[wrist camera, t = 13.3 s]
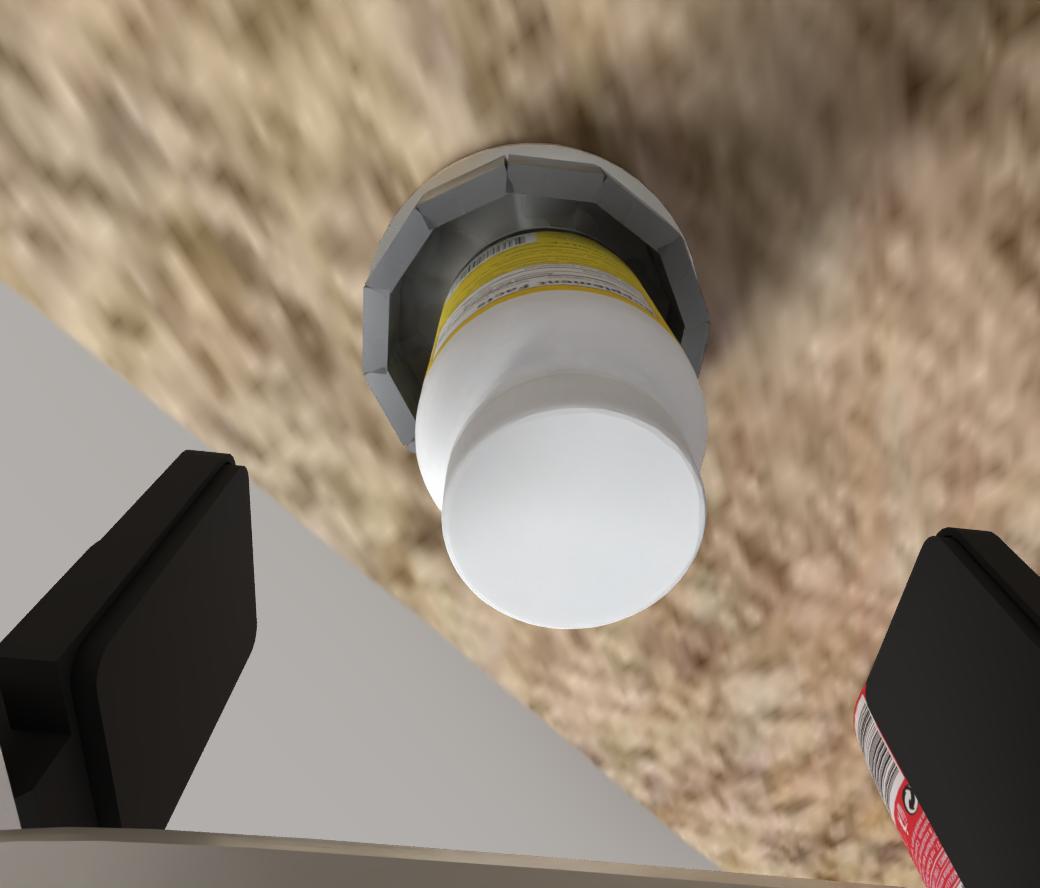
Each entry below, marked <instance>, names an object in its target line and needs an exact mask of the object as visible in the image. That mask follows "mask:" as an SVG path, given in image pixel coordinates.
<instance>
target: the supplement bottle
mask: <svg viewBox="0 0 1040 888" xmlns="http://www.w3.org/2000/svg"><path fill="white" fill-rule="evenodd" d="M706 442H707V413H706V406H705V400H704V396H703V393H702V389H701V386H700V383H699V381H698V378H697V376H696V373H695V371H694V369H693V367H692V365H691V363H690V361H689V359H688V358H687V356H686V354H685V352H684V350H683V348H682V347H681V345H680V344H679V342H678V341H677V339H676V338H675V336H674V335H673V333H672V332H671V330H670V329H669V327H668V325H667V324H666V322H665V321H664V319H663V318H662V316H661V314H660V313H659V311H658V310H657V308H656V306H655V305H654V303H653V302H652V300H651V299H650V297H649V296H648V294H647V292H646V291H645V289H644V288H643V286H642V284H641V283H640V281H639V280H638V278H637V277H636V275H635V274H634V273H633V271H632V270H631V269H630V268H629V266H628V265H627V264H626V263H625V261H624V260H623V259H622V258H621V257H620V256H619V255H618V254H617V253H616V252H614V251H613V250H612V249H611V248H609V247H608V246H607V245H605V244H604V243H602V242H600V241H599V240H597V239H595V238H593V237H591V236H589V235H587V234H585V233H582V232H579V231H576V230H572V229H567V228H561V227H552V226H536V227H529V228H524V229H520V230H516V231H513V232H510V233H507V234H505V235H503V236H500V237H498V238H496V239H494V240H493V241H491V242H489V243H488V244H486V245H485V246H484V247H482V248H481V249H480V250H478V251H477V252H476V253H475V254H474V255H473V256H472V257H471V258H470V259H469V260H468V261H467V262H466V263H465V264H464V266H463V267H462V268H461V270H460V271H459V273H458V274H457V276H456V277H455V279H454V281H453V283H452V285H451V287H450V289H449V291H448V294H447V296H446V299H445V303H444V306H443V310H442V314H441V318H440V322H439V326H438V330H437V334H436V338H435V342H434V346H433V350H432V354H431V358H430V362H429V365H428V369H427V372H426V375H425V379H424V383H423V387H422V391H421V395H420V400H419V404H418V409H417V415H416V425H415V443H416V454H417V459H418V464H419V468H420V471H421V474H422V477H423V479H424V482H425V485H426V487H427V489H428V491H429V493H430V495H431V497H432V498H433V500H434V502H435V503H436V505H437V506H438V507H439V509H440V510H441V512H442V530H443V537H444V541H445V544H446V548H447V551H448V554H449V556H450V559H451V561H452V563H453V565H454V567H455V569H456V571H457V572H458V574H459V575H460V577H461V578H462V579H463V581H464V582H465V583H466V584H467V585H468V587H469V588H470V589H471V590H472V591H473V592H474V593H475V594H476V595H477V596H478V597H479V598H480V599H481V600H483V601H484V602H486V603H487V604H488V605H490V606H491V607H493V608H494V609H496V610H498V611H500V612H502V613H503V614H505V615H507V616H510V617H512V618H515V619H517V620H519V621H522V622H526V623H529V624H532V625H536V626H541V627H548V628H557V629H580V628H591V627H597V626H602V625H606V624H610V623H613V622H617V621H619V620H622V619H624V618H627V617H629V616H632V615H634V614H636V613H638V612H640V611H642V610H644V609H646V608H647V607H649V606H650V605H652V604H654V603H655V602H656V601H658V600H659V599H660V598H662V597H663V596H664V595H665V594H667V593H668V592H669V591H670V590H671V589H672V588H673V587H674V586H675V585H676V584H677V583H678V582H679V580H680V579H681V578H682V577H683V575H684V574H685V573H686V571H687V570H688V569H689V567H690V565H691V564H692V562H693V560H694V558H695V557H696V555H697V552H698V549H699V547H700V544H701V542H702V538H703V535H704V531H705V525H706V517H707V509H706V497H705V490H704V486H703V481H702V479H701V476H700V473H699V471H700V468H701V465H702V462H703V458H704V454H705V448H706Z"/></svg>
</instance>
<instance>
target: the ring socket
mask: <svg viewBox="0 0 1040 888" xmlns="http://www.w3.org/2000/svg"><path fill="white" fill-rule="evenodd" d="M536 226H552V227H561V228H567V229H572V230H576V231H579V232H582V233H585V234H587V235H589V236H591V237H593V238H595V239H597V240H599V241H600V242H602V243H604V244H605V245H607V246H608V247H609V248H611V249H612V250H613V251H614V252H616V253H617V254H618V255H619V256H620V257H621V258H622V259H623V260H624V261H625V263H626V264H627V265H628V266H629V268H630V269H631V270H632V271H633V273H634V274H635V275H636V277H637V278H638V280H639V281H640V283H641V284H642V286H643V288H644V289H645V291H646V292H647V294H648V296H649V297H650V299H651V300H652V302H653V303H654V305H655V306H656V308H657V310H658V311H659V313H660V314H661V316H662V318H663V319H664V321H665V322H666V324H667V325H668V327H669V329H670V330H671V332H672V333H673V335H674V336H675V338H676V339H677V341H678V342H679V344H680V345H681V347H682V348H683V350H684V352H685V354H686V356H687V358H688V359H689V361H690V363H691V365H692V367H693V369H694V371H695V373H696V376H697V378H698V377H699V373H700V369H701V364H702V360H703V356H704V351H705V347H706V343H707V338H708V334H709V330H710V325H711V324H710V322H709V321H710V317H709V314H708V311H707V308H706V305H705V302H704V299H703V296H702V293H701V290H700V287H699V284H698V281H697V275H696V271H695V267H694V264H693V260H692V256H691V253H690V251H689V248H688V246H687V244H686V241H685V239H684V236H683V234H682V233H681V231H680V229H679V227H678V226H677V224H676V222H675V221H674V219H673V217H672V216H671V214H670V213H669V212H668V211H667V209H666V208H665V207H664V206H663V204H662V203H661V202H660V201H659V199H658V198H657V197H656V196H655V195H654V194H653V193H652V192H650V191H649V190H648V189H647V188H646V187H645V186H644V185H643V184H642V183H641V182H640V181H639V180H638V179H637V178H635V177H634V176H632V175H631V174H629V173H628V172H627V171H625V170H624V169H622V168H621V167H619V166H618V165H616V164H614V163H612V162H610V161H608V160H606V159H604V158H602V157H600V156H598V155H596V154H593V153H590V152H587V151H584V150H581V149H578V148H574V147H569V146H564V145H559V144H553V143H533V142H528V143H517V144H506V145H502V146H498V147H494V148H489V149H485V150H482V151H479V152H477V153H474V154H472V155H469V156H467V157H464V158H462V159H460V160H458V161H456V162H454V163H453V164H451V165H449V166H447V167H446V168H444V169H442V170H441V171H439V172H438V173H437V174H435V175H434V176H433V177H431V178H430V179H429V180H428V181H426V182H425V183H424V184H423V185H422V186H421V187H420V188H419V189H418V190H417V191H416V192H415V193H414V194H413V195H412V196H411V197H410V198H409V199H408V200H407V201H406V202H405V203H404V205H403V206H402V208H401V209H400V210H399V212H398V213H397V214H396V216H395V217H394V218H393V220H392V221H391V222H390V224H389V226H388V228H387V230H386V232H385V233H384V235H383V237H382V239H381V241H380V243H379V245H378V248H377V251H376V253H375V256H374V259H373V261H372V265H371V269H370V274H369V278H368V280H367V281H366V283H365V284H366V285H365V286H364V297H363V360H362V372H365V373H364V375H363V376H364V378H365V379H366V381H367V383H368V385H369V386H370V388H371V390H372V392H373V393H374V395H375V397H376V399H377V400H378V402H379V404H380V406H381V407H382V409H383V411H384V413H385V414H386V416H387V418H388V420H389V421H390V423H391V425H392V427H393V428H394V430H395V432H396V434H397V435H398V437H399V439H400V441H401V442H402V444H403V445H406V444H407V446H406V448H407V449H408V450H410V451H411V452H413V453H415V454H416V443H415V425H416V415H417V409H418V404H419V400H420V395H421V391H422V387H423V383H424V379H425V375H426V372H427V369H428V365H429V362H430V358H431V354H432V350H433V346H434V342H435V338H436V334H437V330H438V326H439V322H440V318H441V314H442V310H443V306H444V303H445V299H446V296H447V294H448V291H449V289H450V287H451V285H452V283H453V281H454V279H455V277H456V276H457V274H458V273H459V271H460V270H461V268H462V267H463V266H464V264H465V263H466V262H467V261H468V260H469V259H470V258H471V257H472V256H473V255H474V254H475V253H476V252H477V251H478V250H480V249H481V248H482V247H484V246H485V245H486V244H488V243H489V242H491V241H493V240H494V239H496V238H498V237H500V236H503V235H505V234H507V233H510V232H513V231H516V230H520V229H524V228H529V227H536ZM416 455H417V454H416Z"/></svg>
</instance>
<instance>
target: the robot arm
mask: <svg viewBox="0 0 1040 888" xmlns="http://www.w3.org/2000/svg"><path fill="white" fill-rule="evenodd" d="M256 630H257V618H256V601H255V583H254V565H253V547H252V529H251V511H250V494H249V477H248V471H247V468H246V467H245V466H238V465H236V464H235V461H234V458H233V456H232V455H231V454H225V453H215V452H205V451H195V450H185V451H184V452H182V453H181V454H180V456H179V457H178V458H177V459H176V460H175V461H174V462H173V463H172V464H171V465H170V466H169V467H168V469H166V470H165V472H164V473H163V474H162V475H161V476H160V477H159V478H158V479H157V480H156V481H155V482H154V483H153V484H152V486H151V487H150V488H149V489H148V490H147V491H146V492H145V493H144V494H143V495H142V496H141V497H140V498H139V499H138V500H137V501H136V503H135V504H134V505H133V506H132V507H131V508H130V509H129V510H128V511H127V512H126V513H125V514H124V515H123V517H122V518H121V519H120V520H119V521H118V522H117V523H116V524H115V525H114V526H113V527H112V528H111V529H110V530H109V531H108V533H107V534H106V535H105V536H104V537H103V538H102V539H101V540H100V541H98V542H96V543H95V544H94V545H93V546H91V547H90V548H89V549H88V550H87V551H86V552H85V553H84V554H83V556H82V557H81V558H80V559H79V560H78V561H77V562H76V563H75V564H74V565H73V566H72V567H71V568H70V569H69V570H68V571H67V573H66V574H65V575H64V576H63V577H62V578H61V579H60V580H59V581H58V582H57V583H56V584H55V585H54V586H53V587H52V589H50V590H49V592H48V593H47V594H46V595H45V596H44V597H43V598H42V599H41V600H40V601H39V602H38V603H37V604H36V605H35V606H34V607H33V609H32V610H31V611H30V612H29V613H28V614H27V615H26V616H25V617H24V618H23V619H22V620H21V621H20V622H19V624H17V626H16V627H15V628H14V629H13V630H12V631H11V632H10V633H9V634H8V635H7V636H6V637H5V638H4V639H3V641H1V643H0V888H905V887H894V886H883V885H872V884H861V883H850V882H838V881H826V880H815V879H803V878H791V877H779V876H768V875H756V874H744V873H732V872H721V871H709V870H697V869H685V868H673V867H660V866H649V865H636V864H624V863H612V862H600V861H587V860H576V859H564V858H551V857H539V856H525V855H513V854H500V853H487V852H475V851H461V850H449V849H435V848H424V847H410V846H398V845H385V844H373V843H360V842H359V843H358V842H347V841H334V840H321V839H306V838H291V837H275V836H274V837H273V836H258V835H242V834H226V833H225V834H224V833H209V832H193V831H177V830H165V828H166V826H167V823H168V822H169V820H170V818H171V815H172V814H173V812H174V809H175V807H176V805H177V803H178V801H179V799H180V797H181V795H182V793H183V791H184V789H185V787H186V785H187V783H188V781H189V779H190V777H191V775H192V773H193V771H194V768H195V766H196V764H197V762H198V760H199V758H200V756H201V754H202V752H203V750H204V748H205V746H206V744H207V742H208V740H209V738H210V736H211V734H212V732H213V729H214V727H215V725H216V723H217V721H218V719H219V717H220V715H221V713H222V711H223V709H224V707H225V705H226V703H227V701H228V699H229V697H230V695H231V693H232V690H233V689H234V687H235V684H236V682H237V680H238V678H239V676H240V674H241V672H242V670H243V668H244V666H245V664H246V662H247V660H248V658H249V656H250V654H251V651H252V649H253V645H254V642H255V637H256ZM865 696H866V702H867V706H868V709H869V711H870V713H871V715H872V716H873V718H874V720H875V722H876V724H877V726H878V728H879V729H880V731H881V733H882V735H883V737H884V739H885V741H886V743H887V744H888V746H889V748H890V750H891V752H892V754H893V756H894V757H895V759H896V761H897V763H898V765H899V767H900V769H901V770H902V772H903V774H904V776H905V778H906V780H907V782H908V783H909V785H910V787H911V789H912V791H913V793H914V795H915V797H916V798H917V800H918V802H919V804H920V806H921V808H922V810H923V811H924V813H925V815H926V817H927V819H928V821H929V823H930V824H931V826H932V828H933V830H934V832H935V834H936V836H937V837H938V839H939V841H940V843H941V845H942V847H943V849H944V851H945V852H946V854H947V856H948V858H949V860H950V862H951V864H952V865H953V867H954V869H955V871H956V873H957V875H958V877H959V878H960V880H961V882H962V884H963V886H964V888H1040V577H1039V576H1038V575H1037V574H1036V573H1035V572H1034V571H1033V570H1032V569H1031V568H1030V567H1029V566H1028V565H1027V564H1026V563H1025V562H1024V561H1022V560H1021V559H1020V558H1019V557H1018V556H1017V555H1016V554H1015V553H1014V552H1013V551H1012V550H1011V549H1010V548H1009V547H1008V546H1007V545H1006V544H1005V543H1004V542H1003V541H1002V540H1001V539H1000V538H999V537H998V536H997V535H995V534H994V533H992V532H989V531H980V530H971V529H961V528H951V527H947V528H944V529H942V530H941V531H940V532H939V533H937V535H936V536H932V537H929V538H928V539H927V540H926V541H925V542H924V544H923V546H922V548H921V551H920V553H919V555H918V558H917V560H916V563H915V565H914V568H913V570H912V572H911V575H910V577H909V580H908V582H907V585H906V587H905V589H904V592H903V594H902V597H901V599H900V602H899V604H898V607H897V609H896V611H895V614H894V616H893V619H892V621H891V624H890V626H889V628H888V631H887V633H886V636H885V638H884V641H883V643H882V646H881V648H880V650H879V653H878V655H877V658H876V660H875V663H874V665H873V667H872V670H871V672H870V675H869V677H868V680H867V683H866V689H865Z"/></svg>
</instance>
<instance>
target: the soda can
mask: <svg viewBox="0 0 1040 888" xmlns="http://www.w3.org/2000/svg"><path fill="white" fill-rule="evenodd" d="M865 689H866V685H865V686H864V688H863V689H862V691H861V693H860V695H859V697H858V700H857V702H856V706H855V710H854V728H855V733H856V736H857V739H858V741H859V744H860V747H861V749H862V752H863V755H864V757H865V760H866V763H867V765H868V768H869V771H870V773H871V776H872V778H873V780H874V782H875V784H876V786H877V788H878V790H879V792H880V795H881V797H882V799H883V801H884V803H885V805H886V807H887V809H888V811H889V813H890V815H891V817H892V819H893V821H894V823H895V826H896V828H897V830H898V832H899V834H900V836H901V838H902V840H903V842H904V844H905V846H906V848H907V850H908V852H909V854H910V856H911V858H912V860H913V862H914V864H915V866H916V868H917V870H918V872H919V874H920V876H921V878H922V880H923V882H924V884H925V886H926V888H964V886H963V884H962V882H961V880H960V878H959V877H958V875H957V873H956V871H955V869H954V867H953V865H952V864H951V862H950V860H949V858H948V856H947V854H946V852H945V851H944V849H943V847H942V845H941V843H940V841H939V839H938V837H937V836H936V834H935V832H934V830H933V828H932V826H931V824H930V823H929V821H928V819H927V817H926V815H925V813H924V811H923V810H922V808H921V806H920V804H919V802H918V800H917V798H916V797H915V795H914V793H913V791H912V789H911V787H910V785H909V783H908V782H907V780H906V778H905V776H904V774H903V772H902V770H901V769H900V767H899V765H898V763H897V761H896V759H895V757H894V756H893V754H892V752H891V750H890V748H889V746H888V744H887V743H886V741H885V739H884V737H883V735H882V733H881V731H880V729H879V728H878V726H877V724H876V722H875V720H874V718H873V716H872V715H871V713H870V711H869V709H868V706H867V702H866V696H865Z"/></svg>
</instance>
